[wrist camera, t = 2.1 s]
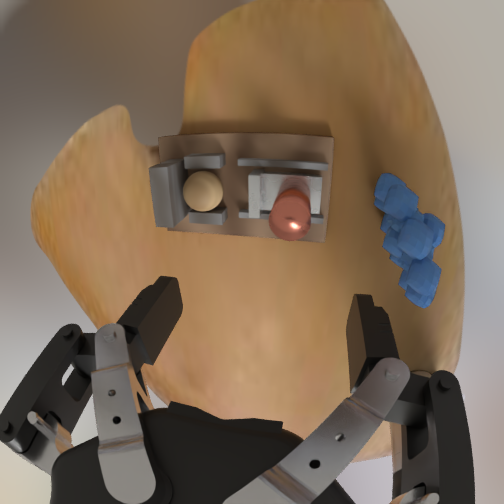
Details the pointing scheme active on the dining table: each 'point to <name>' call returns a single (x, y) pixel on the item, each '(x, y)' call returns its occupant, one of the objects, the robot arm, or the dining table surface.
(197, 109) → the dining table surface
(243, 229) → the base
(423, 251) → the grapes
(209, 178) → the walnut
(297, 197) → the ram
